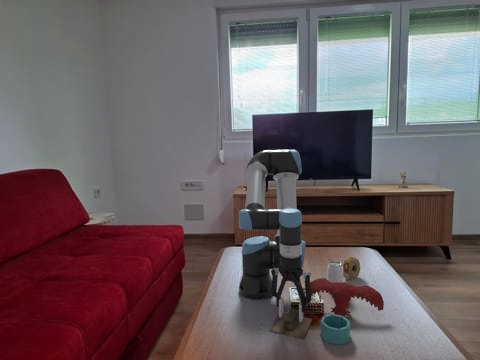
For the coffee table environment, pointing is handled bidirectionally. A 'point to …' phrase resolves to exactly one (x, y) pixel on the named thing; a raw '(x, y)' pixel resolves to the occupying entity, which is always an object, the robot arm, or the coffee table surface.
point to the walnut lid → (291, 325)
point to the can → (335, 272)
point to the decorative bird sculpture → (346, 294)
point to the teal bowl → (335, 329)
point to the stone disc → (351, 268)
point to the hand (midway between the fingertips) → (291, 317)
